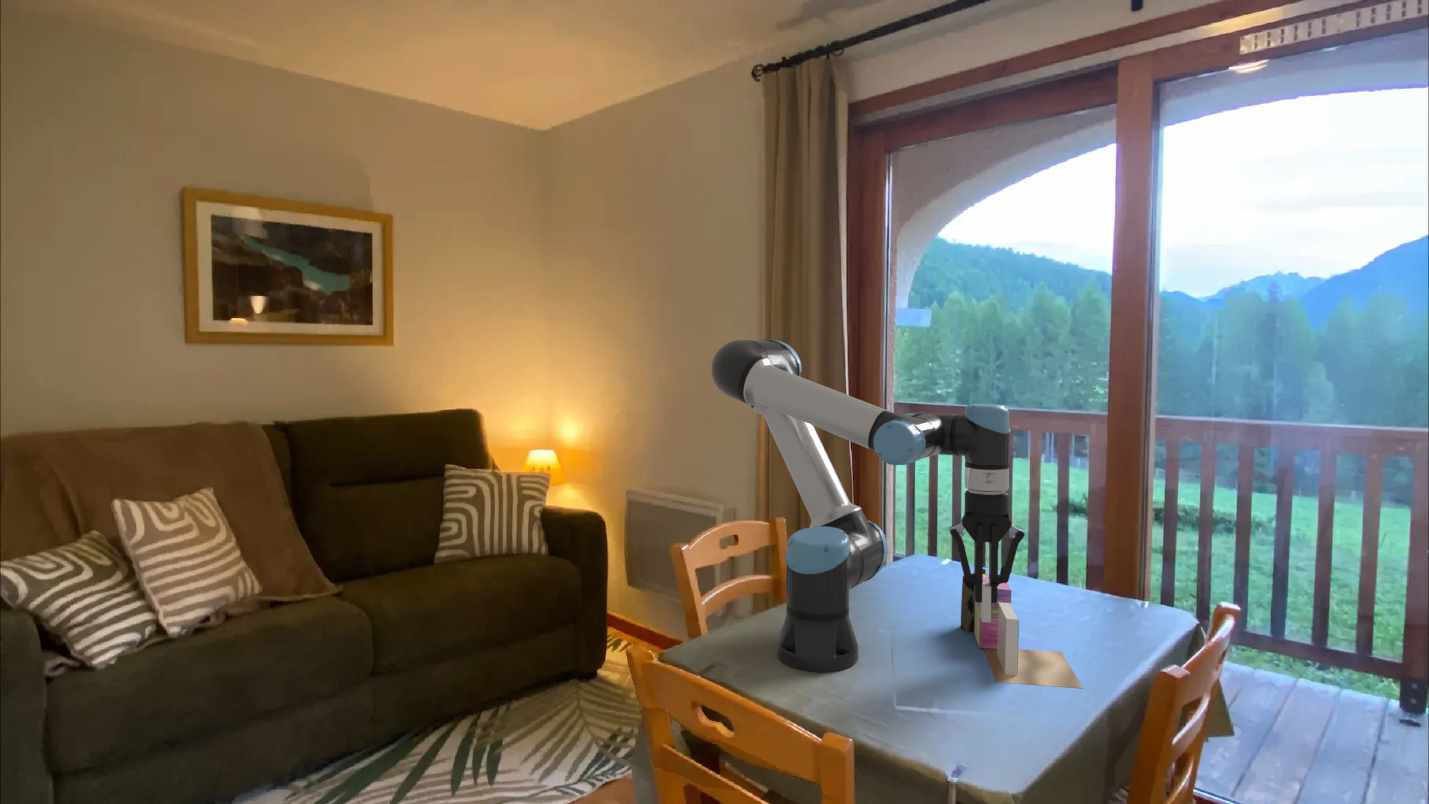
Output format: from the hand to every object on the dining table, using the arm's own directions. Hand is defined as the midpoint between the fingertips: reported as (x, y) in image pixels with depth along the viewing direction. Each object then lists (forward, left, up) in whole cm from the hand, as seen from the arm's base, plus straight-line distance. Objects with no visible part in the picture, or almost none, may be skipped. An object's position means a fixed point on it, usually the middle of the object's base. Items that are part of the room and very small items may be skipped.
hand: (985, 619), depth 144 cm
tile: (+4, 0, -8) cm, 9 cm away
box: (+3, +12, -9) cm, 15 cm away
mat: (+8, 0, -9) cm, 12 cm away
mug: (+1, +19, -9) cm, 21 cm away
